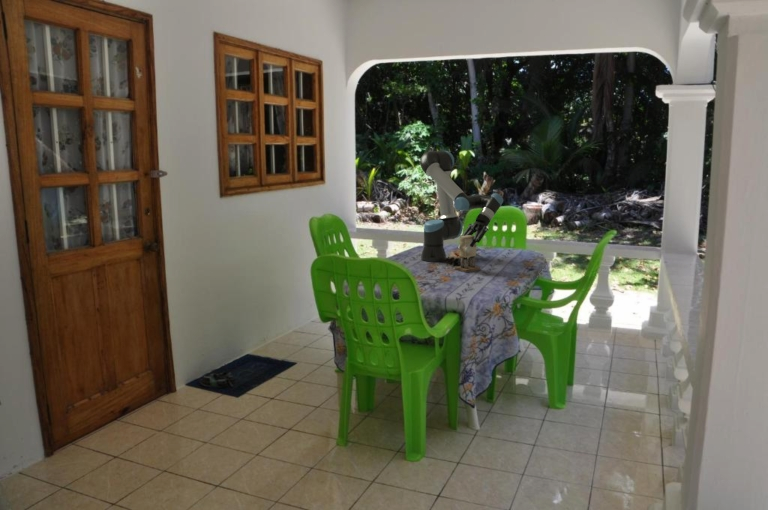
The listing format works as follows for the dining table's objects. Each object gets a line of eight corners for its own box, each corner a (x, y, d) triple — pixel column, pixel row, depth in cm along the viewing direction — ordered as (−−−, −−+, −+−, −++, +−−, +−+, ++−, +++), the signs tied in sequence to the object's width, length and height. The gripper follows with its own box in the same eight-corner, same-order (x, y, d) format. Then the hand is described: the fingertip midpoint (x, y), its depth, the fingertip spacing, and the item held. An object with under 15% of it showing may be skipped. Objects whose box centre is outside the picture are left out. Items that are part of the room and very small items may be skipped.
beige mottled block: (459, 256, 346) (459, 236, 344) (469, 254, 351) (470, 234, 348) (465, 257, 342) (466, 237, 340) (476, 255, 347) (476, 236, 345)
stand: (454, 269, 348) (454, 258, 347) (468, 266, 355) (469, 255, 353) (466, 272, 341) (466, 261, 340) (480, 269, 348) (480, 258, 346)
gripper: (499, 223, 345) (478, 256, 339) (476, 219, 359) (455, 251, 353) (493, 215, 341) (471, 248, 334) (470, 211, 355) (448, 243, 348)
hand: (463, 249), depth 343 cm, fingers closed on beige mottled block, 5 cm apart
